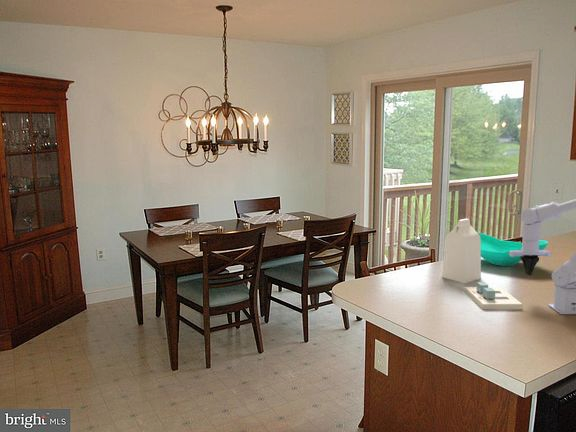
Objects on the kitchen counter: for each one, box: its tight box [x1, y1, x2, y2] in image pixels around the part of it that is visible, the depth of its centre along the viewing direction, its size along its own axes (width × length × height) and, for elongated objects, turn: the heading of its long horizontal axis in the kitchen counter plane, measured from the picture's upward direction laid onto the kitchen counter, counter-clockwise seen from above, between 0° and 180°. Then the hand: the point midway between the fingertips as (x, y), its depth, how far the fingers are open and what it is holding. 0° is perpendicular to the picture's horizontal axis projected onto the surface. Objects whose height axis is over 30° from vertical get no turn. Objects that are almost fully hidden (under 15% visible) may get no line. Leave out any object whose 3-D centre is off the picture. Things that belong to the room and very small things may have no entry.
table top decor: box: [476, 231, 549, 267], centre depth 236 cm, size 40×28×13 cm
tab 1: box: [475, 281, 489, 293], centre depth 189 cm, size 4×3×3 cm
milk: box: [441, 218, 482, 284], centre depth 214 cm, size 12×12×26 cm
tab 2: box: [483, 288, 496, 299], centre depth 182 cm, size 4×3×3 cm
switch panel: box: [464, 286, 523, 310], centre depth 186 cm, size 20×14×2 cm
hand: (528, 274), depth 186 cm, fingers closed
